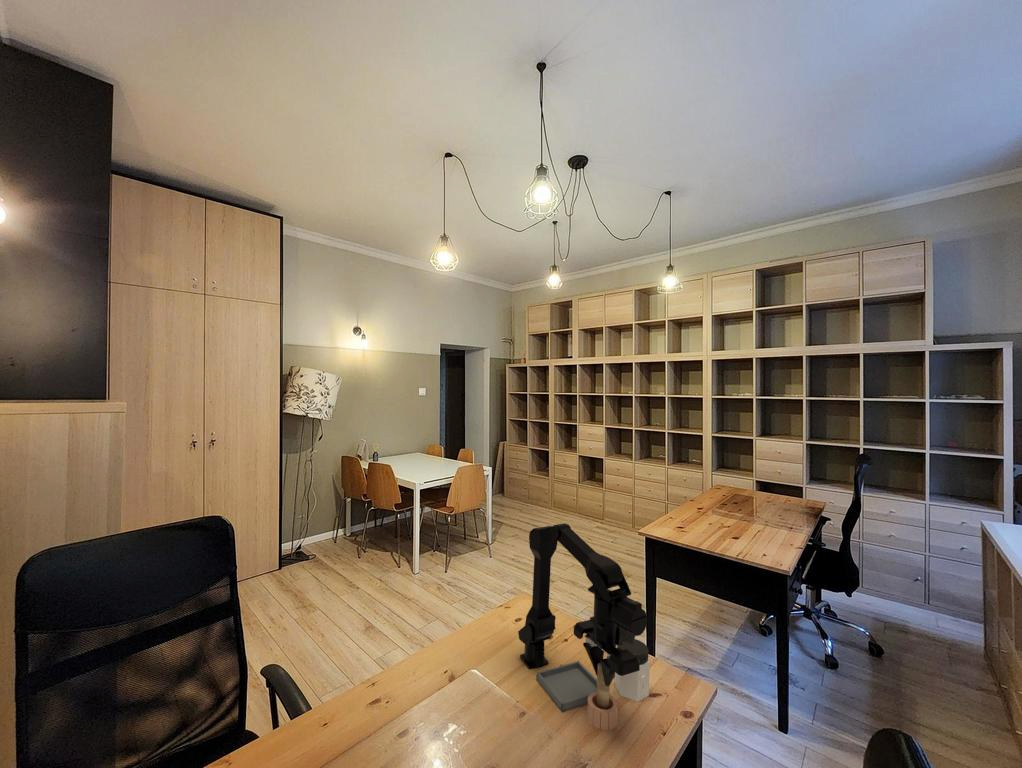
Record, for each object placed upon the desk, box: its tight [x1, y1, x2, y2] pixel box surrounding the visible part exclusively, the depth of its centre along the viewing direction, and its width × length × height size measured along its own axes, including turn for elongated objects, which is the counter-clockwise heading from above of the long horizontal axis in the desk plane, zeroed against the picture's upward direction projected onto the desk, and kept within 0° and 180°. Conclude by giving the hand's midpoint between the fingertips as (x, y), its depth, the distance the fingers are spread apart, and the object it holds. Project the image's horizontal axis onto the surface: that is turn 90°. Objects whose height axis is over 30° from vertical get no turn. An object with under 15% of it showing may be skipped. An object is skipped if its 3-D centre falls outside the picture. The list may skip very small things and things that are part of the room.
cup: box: [586, 692, 619, 731], centre depth 99 cm, size 7×7×4 cm
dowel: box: [596, 663, 611, 710], centre depth 100 cm, size 3×3×10 cm
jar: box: [614, 638, 651, 703], centre depth 110 cm, size 9×8×12 cm
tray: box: [535, 660, 597, 713], centre depth 110 cm, size 13×14×2 cm
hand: (603, 681), depth 100 cm, fingers closed on dowel, 3 cm apart
